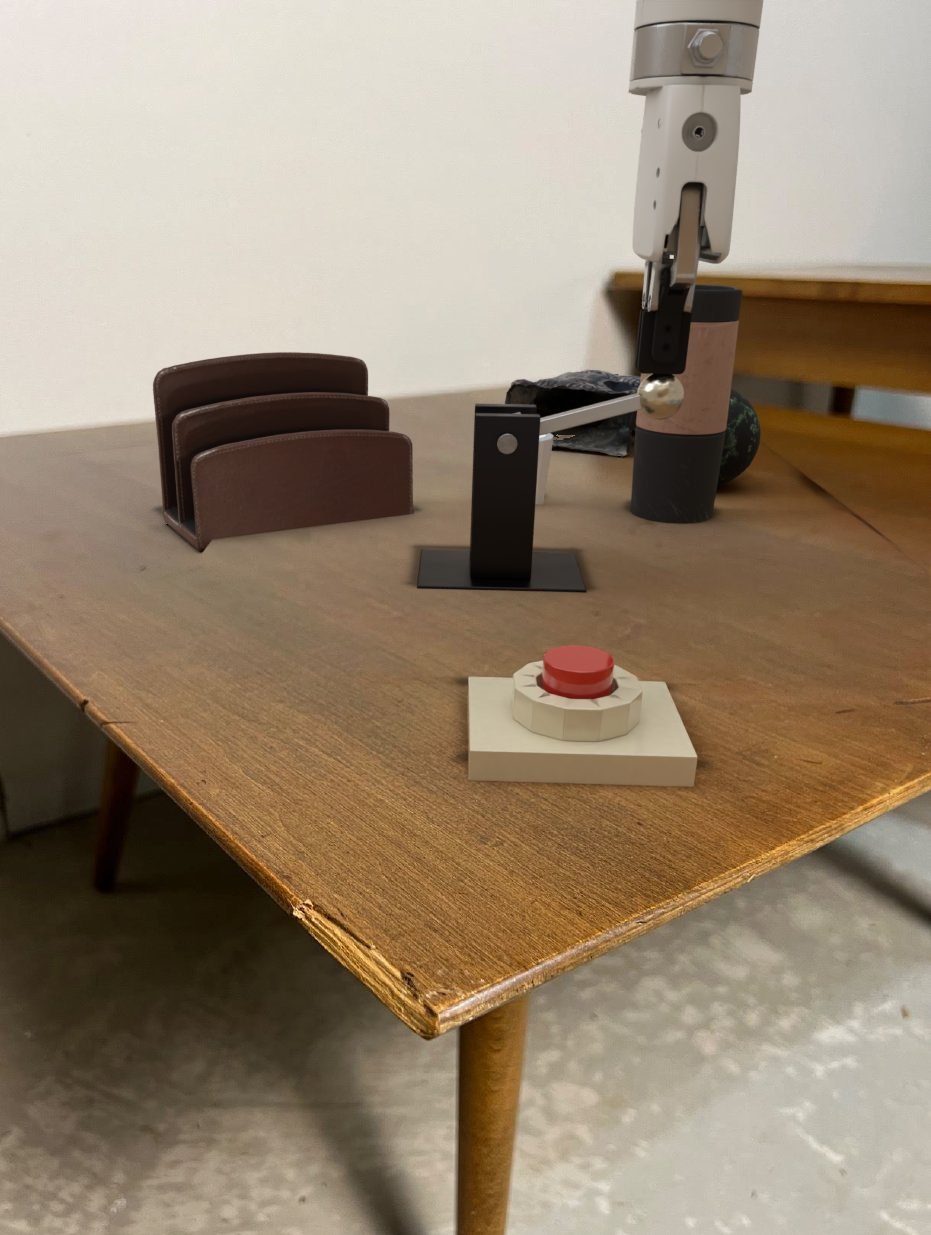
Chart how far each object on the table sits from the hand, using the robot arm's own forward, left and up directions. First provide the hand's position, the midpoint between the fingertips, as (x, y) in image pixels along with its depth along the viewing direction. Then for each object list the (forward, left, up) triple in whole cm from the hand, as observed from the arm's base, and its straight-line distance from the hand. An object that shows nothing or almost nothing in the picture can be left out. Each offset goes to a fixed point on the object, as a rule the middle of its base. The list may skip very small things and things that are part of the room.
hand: (659, 371), depth 74 cm
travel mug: (-6, -18, -16) cm, 25 cm away
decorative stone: (-12, -33, -16) cm, 38 cm away
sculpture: (-5, -62, -16) cm, 64 cm away
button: (+7, +26, -13) cm, 30 cm away
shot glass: (+8, -22, -16) cm, 28 cm away
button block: (+7, +26, -16) cm, 31 cm away
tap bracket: (+10, 0, -16) cm, 19 cm away
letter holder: (+28, -15, -16) cm, 36 cm away
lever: (+5, 0, -5) cm, 6 cm away
